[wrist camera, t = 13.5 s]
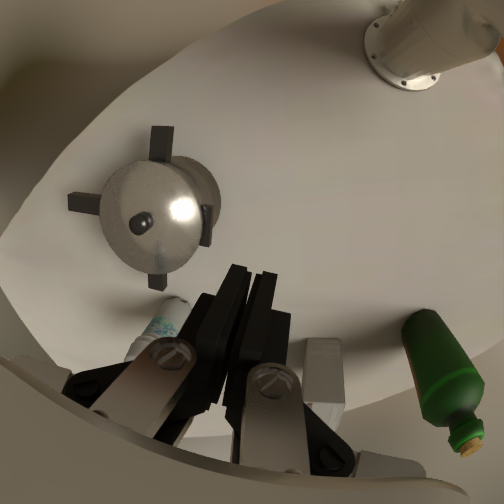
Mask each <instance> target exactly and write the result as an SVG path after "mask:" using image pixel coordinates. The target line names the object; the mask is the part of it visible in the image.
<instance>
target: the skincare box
mask: <svg viewBox="0 0 504 504" xmlns="http://www.w3.org/2000/svg"><path fill="white" fill-rule="evenodd" d="M301 391H302V399H303V402H304V403H305V404H306V405H307V406H308V407H309V408H310V409H311V410H312V411H313V412H314V413H315V414H316V415H317V416H318V417H320V418H321V419H322V420H323V421H324V422H325V423H326V424H327V425H328V426H329V427H330V428H331V429H332V430H333V431H334V432H336V429H337V427H338V424H339V422H340V419H341V417H342V414H343V411H344V408H345V404H346V403H345V391H344V376H343V362H342V350H341V340H340V339H324V338H307V343H306V350H305V358H304V368H303V377H302V386H301Z"/></svg>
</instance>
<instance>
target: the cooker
mask: <svg viewBox="0 0 504 504" xmlns="http://www.w3.org/2000/svg"><path fill="white" fill-rule="evenodd" d="M173 134H174V126H152V129H151V139H150V152H149V160H151V161H158V162H161V163H164V164H167V165H169V166H171V167H172V168H174V169H175V170H177V171H178V172H180V173H181V174H182V175H183V176H184V177H185V178H186V179H187V180H188V182H189V183H190V184H191V186H192V187H193V189H194V190H195V192H196V194H197V196H198V199H199V201H200V204H201V208H202V213H203V232H202V237H201V241H200V243H199V244H200V245H199V246H205V247H209V246H210V245H211V239H212V229H213V227H214V226H215V224H216V222H217V220H218V217H219V214H220V209H221V196H220V191H219V188H218V185H217V183H216V181H215V179H214V177H213V176H212V174H211V173H210V172H209V171H208V169H207V168H206V167H204V166H203V165H202V164H200V163H199V162H197V161H195V160H193V159H191V158H188V157H183V156H172V157H171V155H172V144H173ZM101 196H102V195H100V194H91V193H82V192H73V193H70V194H68V210H69V211H75V212H81V213H87V214H93V215H99V216H100V200H101ZM148 287H149V288H151V289H155V290H159V291H164V290H165V288H166V287H167V273H166V274H148Z"/></svg>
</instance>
